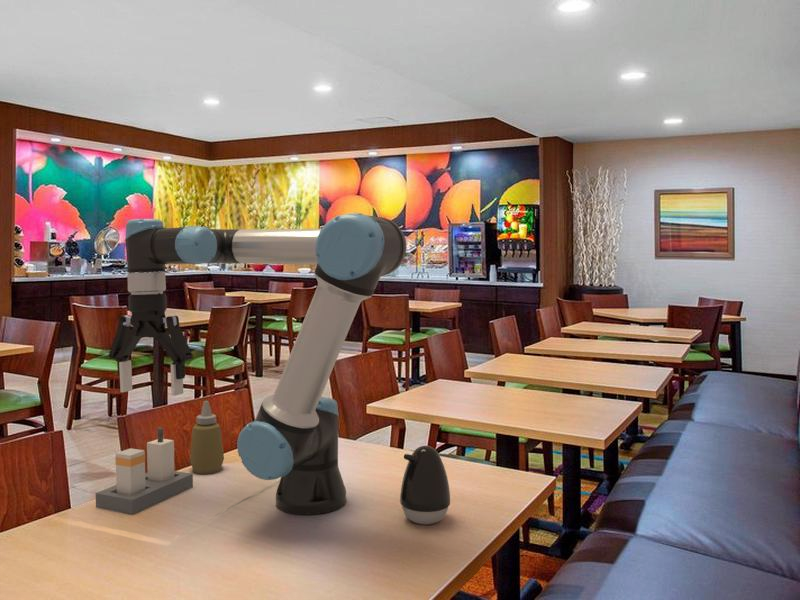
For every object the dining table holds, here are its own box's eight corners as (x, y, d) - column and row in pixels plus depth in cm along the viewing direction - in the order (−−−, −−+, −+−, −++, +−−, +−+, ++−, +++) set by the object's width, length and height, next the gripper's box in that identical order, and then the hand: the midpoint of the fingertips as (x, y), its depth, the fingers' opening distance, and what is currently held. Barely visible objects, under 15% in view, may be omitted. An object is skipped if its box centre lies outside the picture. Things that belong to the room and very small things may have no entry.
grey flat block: (193, 491, 153) (192, 473, 152) (132, 519, 136) (132, 500, 136) (158, 484, 156) (158, 468, 156) (96, 511, 140) (95, 493, 140)
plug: (131, 507, 139) (130, 455, 139) (116, 504, 141) (115, 453, 140) (146, 501, 143) (145, 450, 142) (131, 498, 145) (130, 448, 144)
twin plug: (174, 488, 151) (173, 427, 150) (161, 494, 148) (160, 431, 147) (160, 485, 153) (159, 425, 152) (147, 491, 149) (146, 429, 148)
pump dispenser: (389, 517, 138) (389, 444, 137) (428, 506, 144) (429, 436, 143) (419, 534, 130) (420, 456, 129) (460, 521, 136) (461, 447, 135)
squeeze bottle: (214, 480, 160) (213, 405, 159) (183, 478, 161) (182, 404, 160) (229, 469, 168) (229, 398, 167) (200, 467, 169) (199, 397, 168)
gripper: (207, 291, 141) (211, 392, 142) (114, 292, 150) (119, 386, 151) (183, 293, 134) (188, 399, 135) (88, 294, 143) (92, 393, 144)
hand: (151, 393), depth 143 cm, fingers open, 13 cm apart
